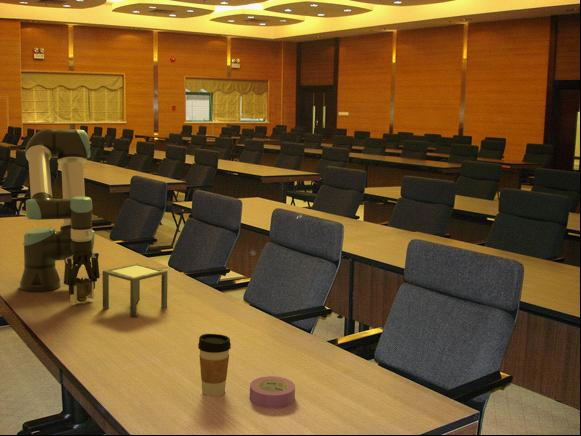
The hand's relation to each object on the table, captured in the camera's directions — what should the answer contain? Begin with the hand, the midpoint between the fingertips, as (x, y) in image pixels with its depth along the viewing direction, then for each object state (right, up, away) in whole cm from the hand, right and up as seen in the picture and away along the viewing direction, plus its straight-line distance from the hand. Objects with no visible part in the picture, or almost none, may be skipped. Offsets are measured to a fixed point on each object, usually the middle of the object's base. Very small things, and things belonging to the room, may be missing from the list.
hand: (82, 300), depth 250 cm
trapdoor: (+21, +10, -6) cm, 24 cm away
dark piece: (0, 0, 0) cm, 0 cm away
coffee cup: (+57, -16, -73) cm, 93 cm away
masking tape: (+72, -17, -75) cm, 105 cm away
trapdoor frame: (+20, -3, -3) cm, 21 cm away
